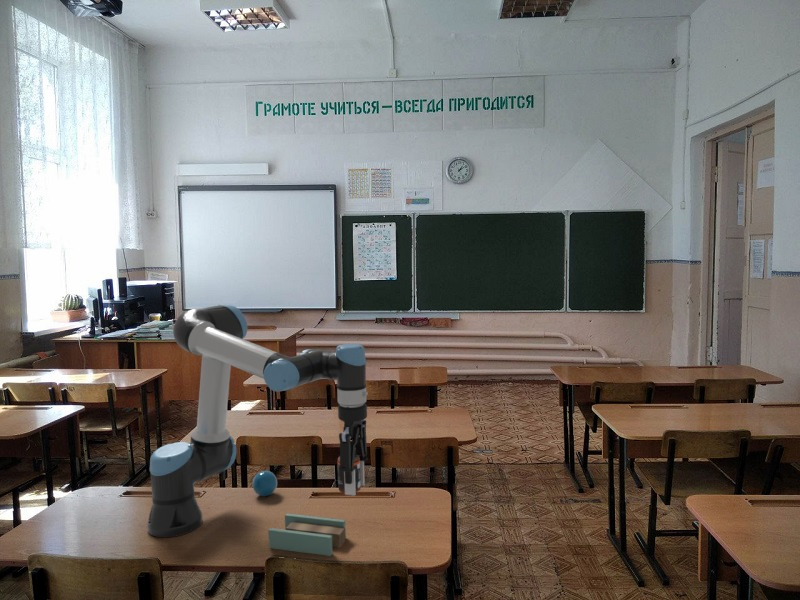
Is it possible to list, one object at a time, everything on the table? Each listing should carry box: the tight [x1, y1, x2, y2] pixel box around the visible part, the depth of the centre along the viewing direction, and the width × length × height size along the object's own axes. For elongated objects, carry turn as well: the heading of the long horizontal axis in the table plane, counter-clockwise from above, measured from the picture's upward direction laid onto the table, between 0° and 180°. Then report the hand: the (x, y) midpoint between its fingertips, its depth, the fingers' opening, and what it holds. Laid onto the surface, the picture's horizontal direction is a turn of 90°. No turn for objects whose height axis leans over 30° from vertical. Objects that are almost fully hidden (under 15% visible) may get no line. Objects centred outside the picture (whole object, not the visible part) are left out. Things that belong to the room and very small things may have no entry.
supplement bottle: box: [337, 448, 362, 494], centre depth 158 cm, size 6×6×11 cm
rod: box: [284, 522, 346, 549], centre depth 164 cm, size 16×4×4 cm, turn 74°
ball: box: [252, 470, 278, 497], centre depth 196 cm, size 8×8×8 cm
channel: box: [268, 513, 347, 557], centre depth 163 cm, size 18×10×5 cm, turn 73°
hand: (354, 489), depth 158 cm, fingers closed on supplement bottle, 6 cm apart
